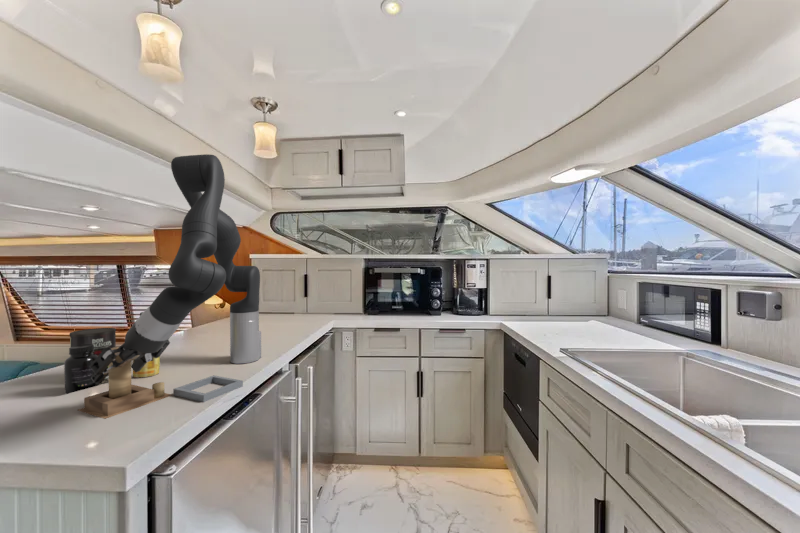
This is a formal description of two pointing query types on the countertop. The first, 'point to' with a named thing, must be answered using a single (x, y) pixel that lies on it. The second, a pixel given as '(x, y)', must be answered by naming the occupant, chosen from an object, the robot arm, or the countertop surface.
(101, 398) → the wooden slotted base
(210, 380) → the tray
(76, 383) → the supplement bottle
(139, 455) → the countertop surface
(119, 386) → the dowel
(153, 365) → the sauce bottle
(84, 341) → the coffee can
